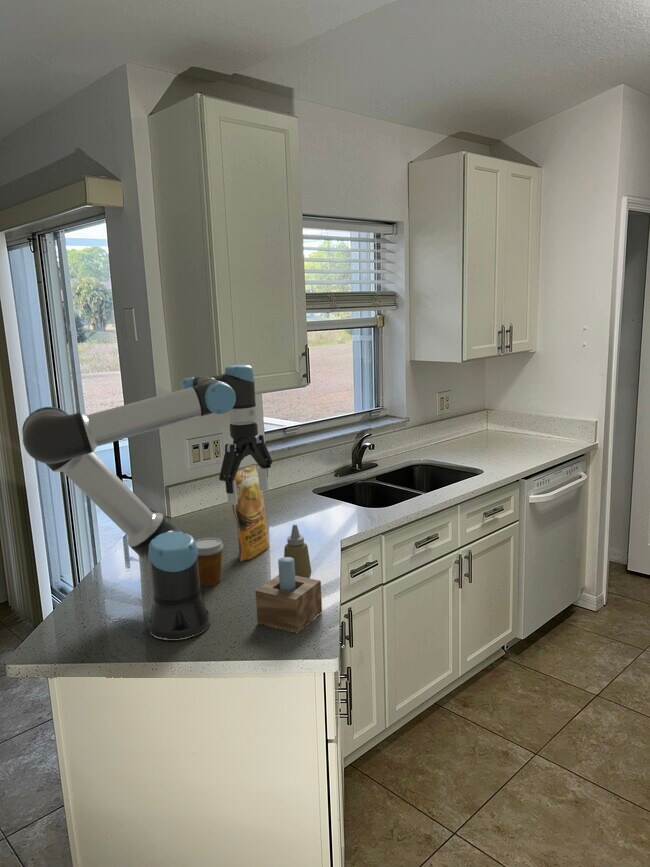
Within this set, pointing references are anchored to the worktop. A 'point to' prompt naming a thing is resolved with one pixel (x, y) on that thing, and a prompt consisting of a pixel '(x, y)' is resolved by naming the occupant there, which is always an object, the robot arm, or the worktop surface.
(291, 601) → the socket block
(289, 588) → the dowel
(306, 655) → the worktop surface
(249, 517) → the pancake mix bag
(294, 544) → the squeeze bottle
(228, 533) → the worktop surface
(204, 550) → the disposable coffee cup
